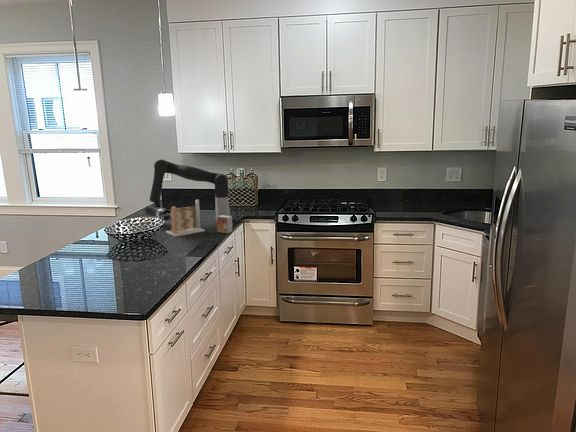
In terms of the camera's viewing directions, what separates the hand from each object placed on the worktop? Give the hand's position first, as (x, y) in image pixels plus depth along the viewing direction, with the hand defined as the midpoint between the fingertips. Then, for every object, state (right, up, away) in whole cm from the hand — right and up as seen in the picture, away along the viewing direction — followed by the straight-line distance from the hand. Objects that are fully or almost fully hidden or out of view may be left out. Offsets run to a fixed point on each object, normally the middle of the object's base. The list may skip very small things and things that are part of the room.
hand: (176, 218), depth 291 cm
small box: (+31, -9, +2) cm, 32 cm away
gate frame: (+5, -9, +2) cm, 10 cm away
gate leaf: (+5, -8, 0) cm, 9 cm away
